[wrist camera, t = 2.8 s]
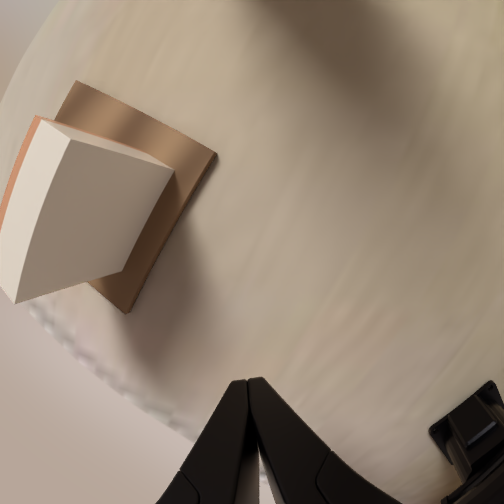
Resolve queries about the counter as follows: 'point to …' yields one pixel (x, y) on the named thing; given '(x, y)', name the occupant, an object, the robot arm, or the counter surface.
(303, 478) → the robot arm
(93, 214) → the white box
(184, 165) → the board
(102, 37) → the counter surface
